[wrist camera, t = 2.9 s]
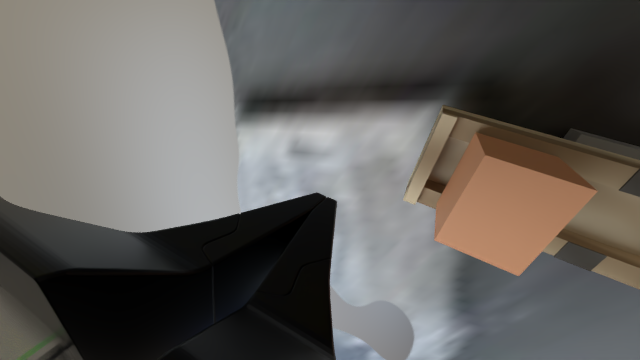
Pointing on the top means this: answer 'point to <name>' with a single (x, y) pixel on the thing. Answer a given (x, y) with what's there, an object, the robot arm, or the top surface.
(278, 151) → the top surface
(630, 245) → the wooden tray
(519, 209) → the block
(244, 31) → the top surface
